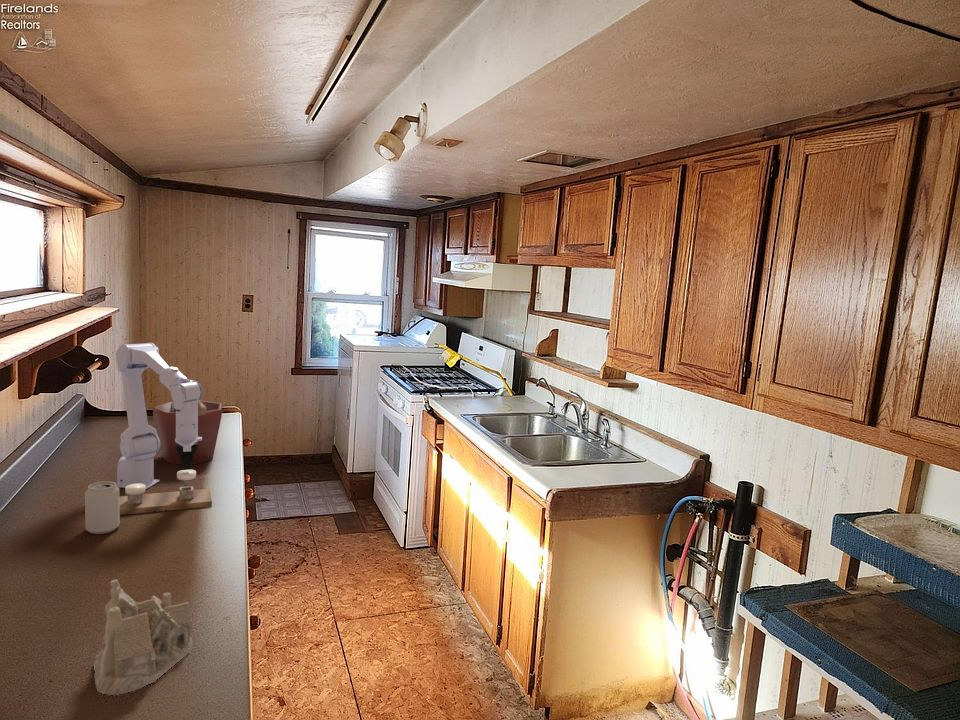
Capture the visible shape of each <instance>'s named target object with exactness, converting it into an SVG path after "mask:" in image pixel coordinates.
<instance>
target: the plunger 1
mask: <svg viewBox="0 0 960 720" xmlns="http://www.w3.org/2000/svg"><path fill="white" fill-rule="evenodd" d="M124 490H125V491H124V492H125V495H127V496H128V495H138V494H142V493H143V494H145V492H146V490H147V489H146V485H145V484H140V483H137V484H130V485H127V486H126V487H125V488H124Z"/></svg>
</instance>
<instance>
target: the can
mask: <svg viewBox="0 0 960 720" xmlns="http://www.w3.org/2000/svg"><path fill="white" fill-rule="evenodd" d="M116 485H117V482H114V481H107V480H105V481H98V482H93V483H91V484H89V485H87V489H86V491H84V512H85V513H84V518H85V519H84V521H85V525H84V526H85V530H86V531H87V532H88V533H90V534H92V535H104V534H108V533H112V532H113V531H115V530H116V529H117V528H118V527H119V526H120V523H121V522H120V521H121V519H120V516H121V515H120V506H119V496H120V487H117V486H116Z"/></svg>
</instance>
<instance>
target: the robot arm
mask: <svg viewBox="0 0 960 720" xmlns="http://www.w3.org/2000/svg"><path fill="white" fill-rule="evenodd" d="M159 350H160V349H159V347H158V346H157V345H156V344H154V343H153V342H147V343H130V344H127V343H122V344H120V345H119V346H118V347H117V350H116V352H115V357H116V365H117V370H118V372H119V373H121V379H122V386H123V393H124V401H125V408H126V415H127V423H128V427H127V428H126V429H125V430H124V431H123V432H122V433H121V434H120V442H119V443H120V444H119V451H120V453H121V455H122V456H121V457H120V458H119V460H118V463H117V467H116V471H117V473H116V474H117V476H116V477H117V478H116V480H117V482H116V486H117V487H118V488H119V489H120V488H122V489H125V487H126V486H127V485H130V484H137V483H140V484H145V485H146V490H147V489H149V488H151V487H153V486H154V485H156V484H157V483H159V482H160V479H157V478H156V479H155V478H154V477H155V476H154V472H155V471H154V469H155V465H154V461H155V460H154V459H155V458H154V457H155V456H157V453H158V452H159V450H161V448H160V439H159V437H158V435H157V431H156V427H155V428H154V427H153V426H152V425H149V423H148V414H147V408H146V401H145V394H144V387H143V379H142V374H143V373H144V371H145V370H147V369H151V370H152V371H154V372H155V374H157V375H159V377H158V378H159V382H160V383H161V384H163V386H164V387H165V388H167V390H168V391H170V394H171V400H172V402H174V408H175V409H176V438H175V442H176V443H178V445H176V450H177V452H178V454H179V456H180V460H181V464H180V465H181V470H192V469H191V468H192V467H193V466H192V465H193V464H192V461H193V457H194V454H195V452H196V450H197V448H198V447H197V443H196V442H197V441H202V437H198V400H202V397H203V393H204V392H203V390H204V389H203V387H202V385H201V383H200V382H199V381H198V380H193V379H189V378H188V377H186V375H184V374H183V372H181V371H180V370H179V368H178V367H177V366H176V367H175V366H169V365H168V364H167V362H166V361H165V360H164V359H163V357H161V355H160V351H159Z"/></svg>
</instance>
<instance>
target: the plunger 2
mask: <svg viewBox="0 0 960 720" xmlns="http://www.w3.org/2000/svg"><path fill="white" fill-rule="evenodd" d="M196 478H197V471H196V470H195V469H190V470H183V469H181V470H178V471H177V472H176V479H177V480H180V481H183V487H189V486H190V481H191V480H194V479H196Z"/></svg>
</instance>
